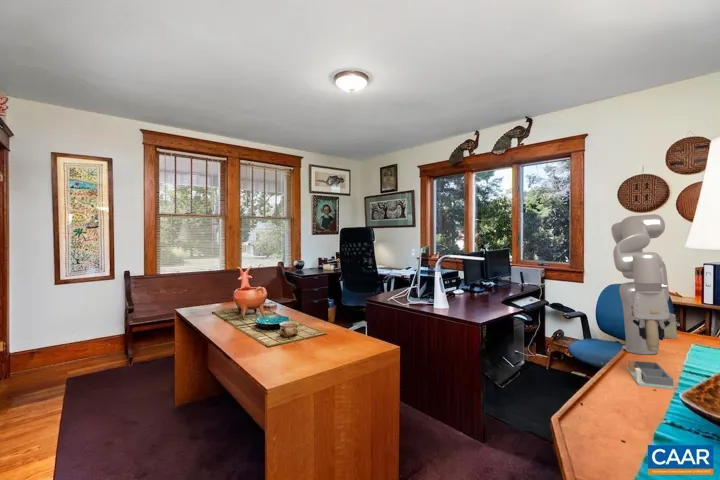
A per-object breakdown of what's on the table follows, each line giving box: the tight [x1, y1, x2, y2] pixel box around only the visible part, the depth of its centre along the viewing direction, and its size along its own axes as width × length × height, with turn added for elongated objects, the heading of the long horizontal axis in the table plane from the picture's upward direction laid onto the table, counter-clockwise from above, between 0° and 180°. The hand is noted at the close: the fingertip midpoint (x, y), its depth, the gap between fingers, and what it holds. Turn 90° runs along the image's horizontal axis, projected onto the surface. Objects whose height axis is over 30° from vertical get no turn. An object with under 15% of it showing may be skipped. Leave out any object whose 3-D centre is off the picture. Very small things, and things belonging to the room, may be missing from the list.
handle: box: [644, 309, 660, 352], centre depth 123 cm, size 5×6×15 cm
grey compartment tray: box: [626, 359, 675, 390], centre depth 127 cm, size 18×10×4 cm, turn 153°
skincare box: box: [657, 313, 678, 339], centre depth 177 cm, size 6×4×12 cm
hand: (652, 338), depth 123 cm, fingers closed on handle, 4 cm apart
